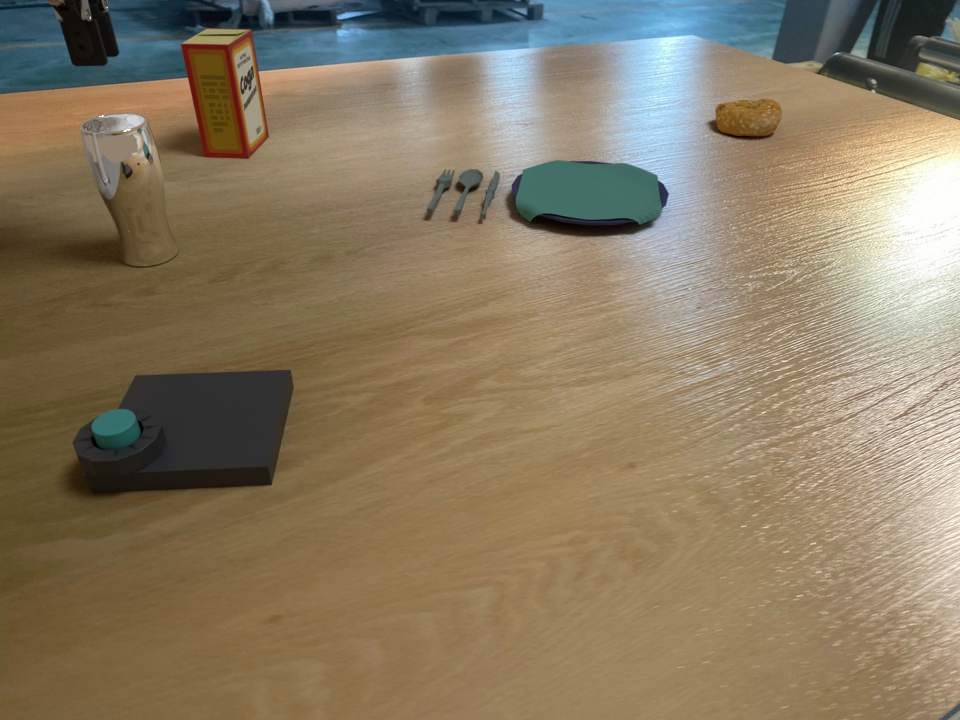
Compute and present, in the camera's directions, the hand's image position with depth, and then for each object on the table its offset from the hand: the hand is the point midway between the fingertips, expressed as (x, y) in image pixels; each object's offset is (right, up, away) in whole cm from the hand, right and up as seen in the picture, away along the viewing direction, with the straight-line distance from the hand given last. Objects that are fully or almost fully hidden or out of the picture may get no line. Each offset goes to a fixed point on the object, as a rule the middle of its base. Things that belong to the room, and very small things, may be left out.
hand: (96, 58), depth 74 cm
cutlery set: (+46, -9, +25) cm, 53 cm away
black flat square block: (+15, -35, -13) cm, 40 cm away
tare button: (+11, -35, -18) cm, 41 cm away
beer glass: (0, -17, +12) cm, 21 cm away
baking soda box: (+1, +3, +41) cm, 41 cm away
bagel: (+79, +8, +48) cm, 93 cm away
